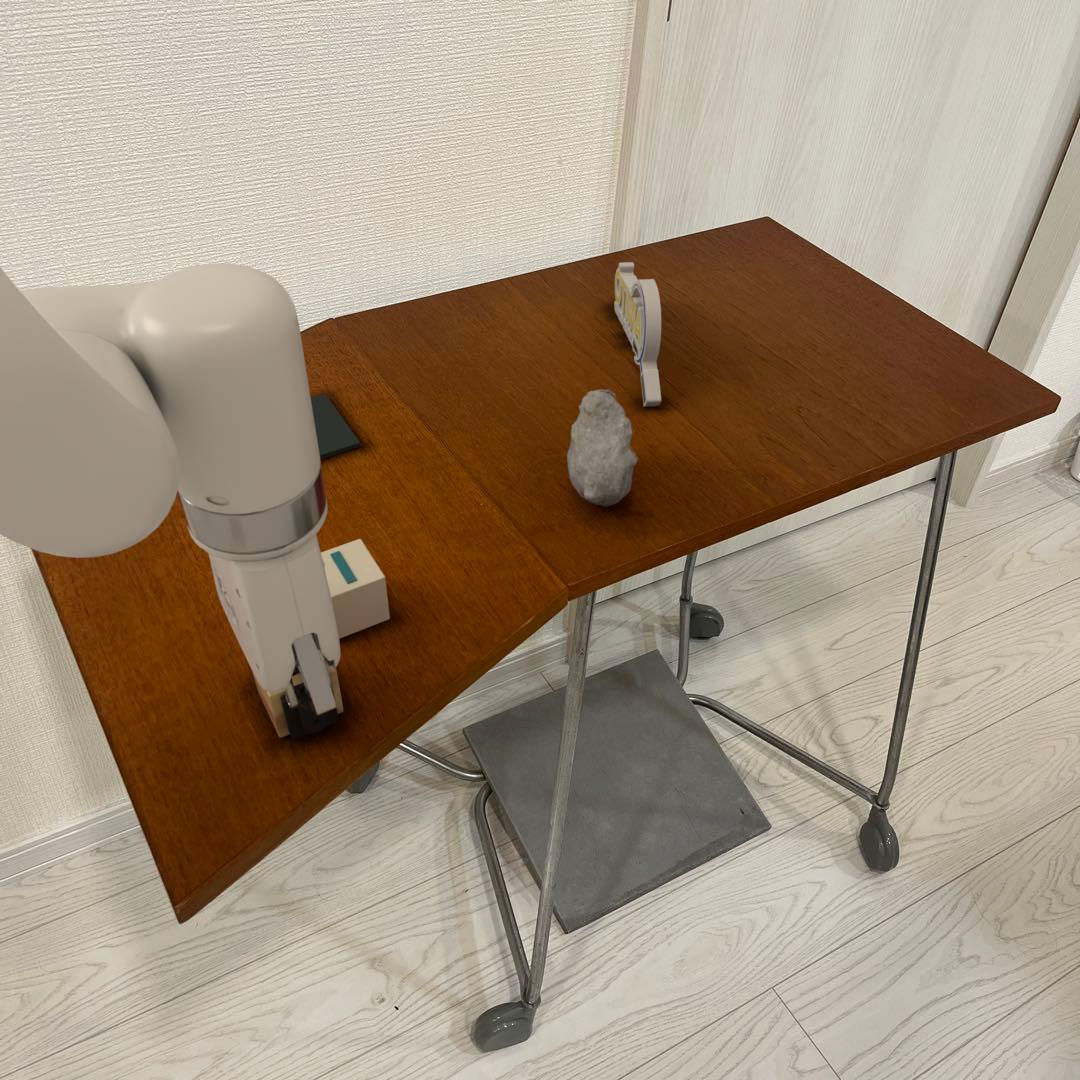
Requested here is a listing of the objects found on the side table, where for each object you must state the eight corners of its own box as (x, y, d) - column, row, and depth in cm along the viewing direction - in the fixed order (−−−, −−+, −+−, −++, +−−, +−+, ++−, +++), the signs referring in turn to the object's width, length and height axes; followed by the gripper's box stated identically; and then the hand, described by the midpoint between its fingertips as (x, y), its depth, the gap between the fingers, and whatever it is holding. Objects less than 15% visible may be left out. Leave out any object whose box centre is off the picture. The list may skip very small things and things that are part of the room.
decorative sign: (612, 336, 106) (616, 241, 101) (624, 336, 106) (630, 241, 101) (645, 410, 91) (653, 304, 86) (660, 410, 92) (669, 303, 86)
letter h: (280, 738, 65) (269, 696, 62) (257, 690, 68) (245, 647, 65) (344, 711, 67) (336, 668, 64) (319, 666, 70) (311, 622, 66)
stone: (668, 515, 82) (684, 416, 75) (596, 543, 79) (606, 442, 72) (607, 450, 87) (616, 352, 80) (538, 474, 85) (542, 375, 78)
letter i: (332, 641, 71) (325, 598, 68) (310, 601, 74) (301, 557, 71) (390, 619, 73) (385, 575, 70) (366, 580, 75) (360, 536, 72)
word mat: (198, 498, 81) (197, 493, 81) (171, 443, 86) (170, 438, 86) (360, 447, 87) (360, 442, 86) (326, 398, 92) (325, 393, 91)
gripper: (142, 428, 58) (206, 635, 71) (235, 622, 48) (290, 823, 61) (268, 392, 61) (308, 597, 74) (381, 568, 51) (404, 771, 64)
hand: (299, 697), depth 67 cm, fingers closed on letter h, 4 cm apart
